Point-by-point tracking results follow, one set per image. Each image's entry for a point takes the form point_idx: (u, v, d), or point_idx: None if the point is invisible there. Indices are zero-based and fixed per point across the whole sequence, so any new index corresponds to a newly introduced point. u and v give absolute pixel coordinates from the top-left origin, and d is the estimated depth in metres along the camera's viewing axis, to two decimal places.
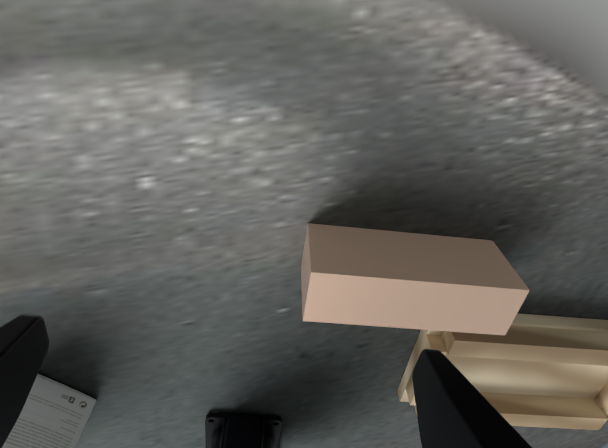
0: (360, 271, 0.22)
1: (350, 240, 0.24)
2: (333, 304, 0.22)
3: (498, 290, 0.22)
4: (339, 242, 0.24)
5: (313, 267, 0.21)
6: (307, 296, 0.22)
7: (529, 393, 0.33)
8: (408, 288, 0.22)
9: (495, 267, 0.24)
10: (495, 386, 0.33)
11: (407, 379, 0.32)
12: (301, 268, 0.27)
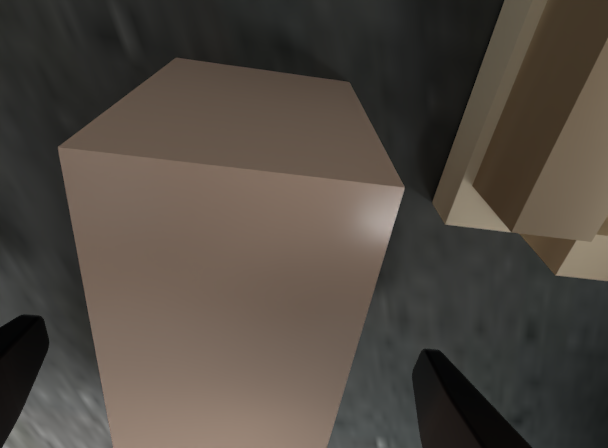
0: None
1: None
2: None
3: (101, 284, 0.05)
4: None
5: None
6: None
7: None
8: None
9: None
10: None
11: None
12: None
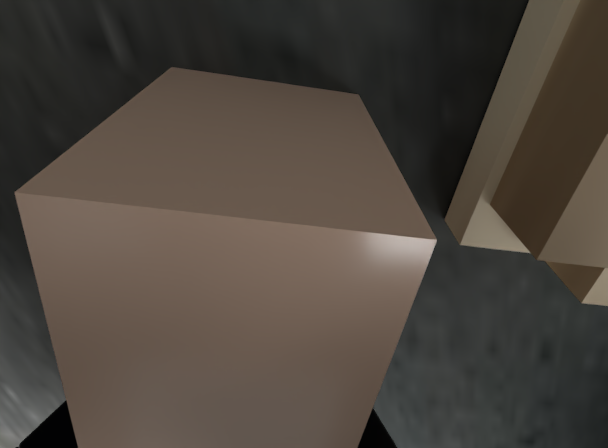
0: None
1: None
2: None
3: (74, 344, 0.04)
4: None
5: None
6: None
7: None
8: None
9: None
10: None
11: None
12: None
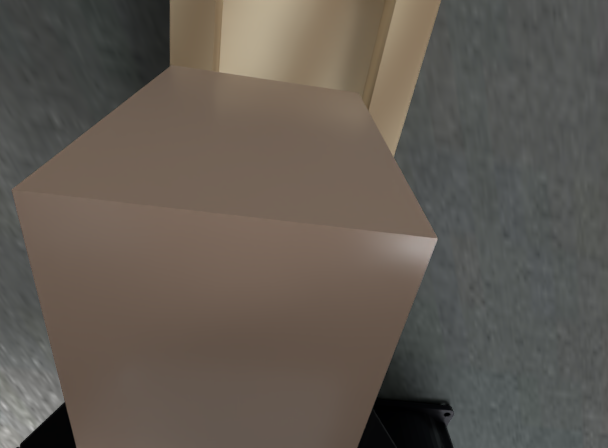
0: None
1: None
2: None
3: (72, 342, 0.04)
4: None
5: None
6: None
7: None
8: None
9: None
10: None
11: None
12: None
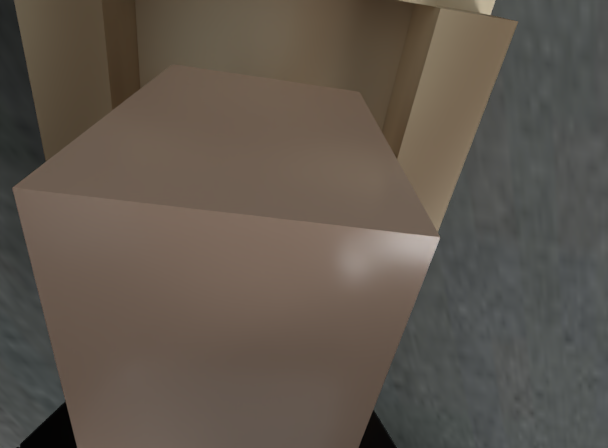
0: None
1: None
2: None
3: (73, 342, 0.04)
4: None
5: None
6: None
7: None
8: None
9: None
10: None
11: None
12: None
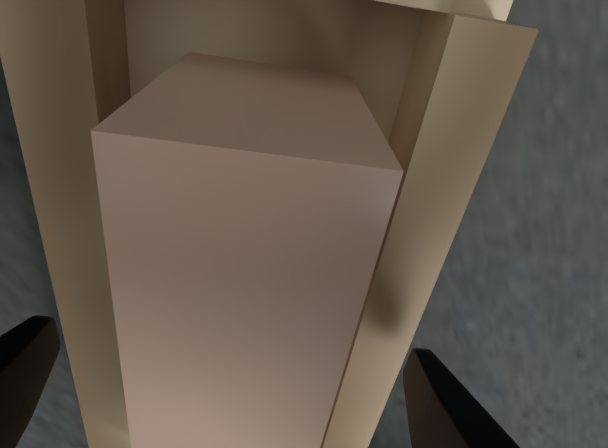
0: None
1: None
2: None
3: (124, 259, 0.05)
4: None
5: None
6: None
7: None
8: None
9: None
10: None
11: None
12: None
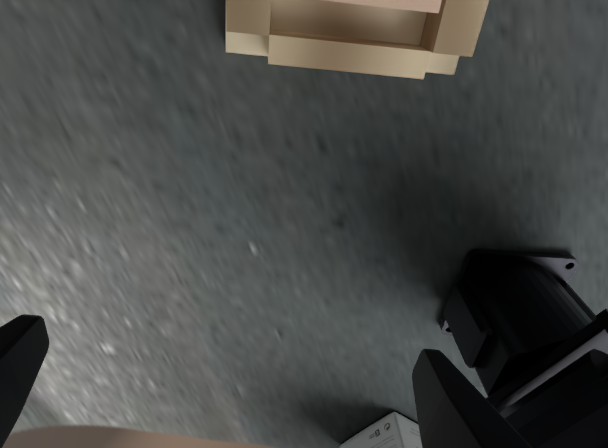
0: None
1: None
2: None
3: None
4: None
5: None
6: (375, 4, 0.11)
7: None
8: None
9: None
10: None
11: None
12: None
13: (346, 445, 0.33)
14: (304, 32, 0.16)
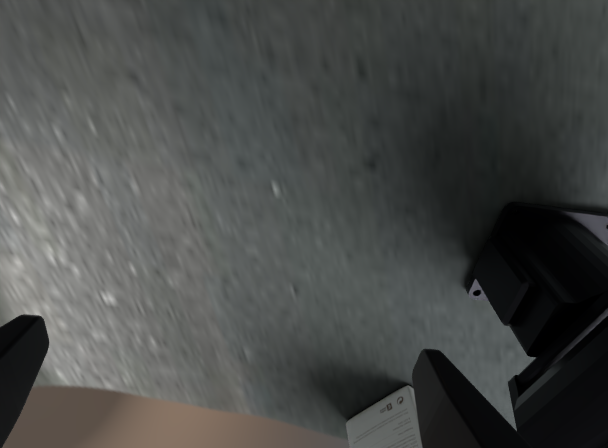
0: None
1: None
2: None
3: None
4: None
5: None
6: None
7: None
8: None
9: None
10: None
11: None
12: None
13: (354, 420, 0.31)
14: None
